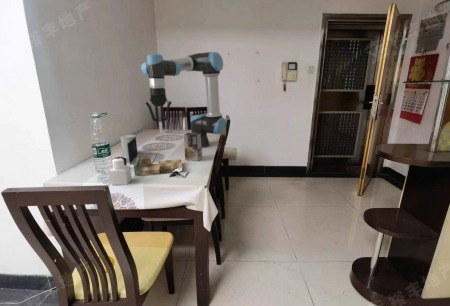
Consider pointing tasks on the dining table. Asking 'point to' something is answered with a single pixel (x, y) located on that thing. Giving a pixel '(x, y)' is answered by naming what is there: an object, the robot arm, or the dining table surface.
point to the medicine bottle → (120, 171)
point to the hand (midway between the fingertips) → (161, 133)
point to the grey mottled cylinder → (124, 141)
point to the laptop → (135, 152)
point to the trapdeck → (157, 167)
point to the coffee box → (193, 146)
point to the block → (146, 161)
